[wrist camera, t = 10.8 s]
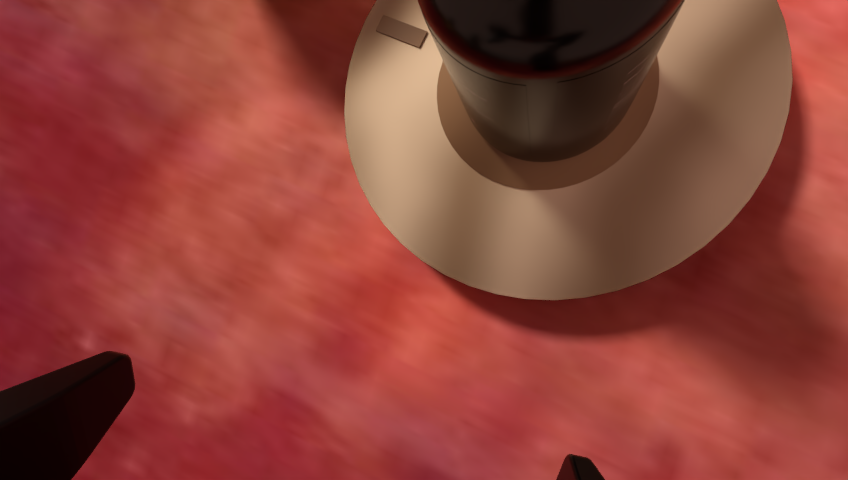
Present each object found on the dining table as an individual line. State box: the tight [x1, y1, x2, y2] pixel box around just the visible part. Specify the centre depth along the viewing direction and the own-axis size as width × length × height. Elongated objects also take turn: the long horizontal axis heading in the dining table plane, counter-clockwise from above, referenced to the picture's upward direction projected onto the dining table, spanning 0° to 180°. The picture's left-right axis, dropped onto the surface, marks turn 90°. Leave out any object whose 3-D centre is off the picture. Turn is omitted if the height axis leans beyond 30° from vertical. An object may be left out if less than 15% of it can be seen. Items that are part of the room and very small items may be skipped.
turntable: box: [344, 0, 792, 300], centre depth 19 cm, size 18×18×2 cm
